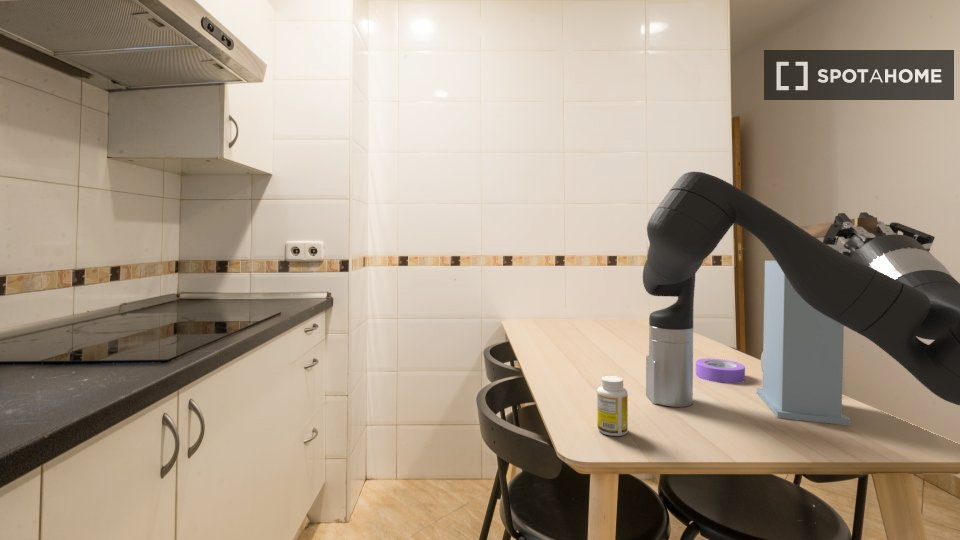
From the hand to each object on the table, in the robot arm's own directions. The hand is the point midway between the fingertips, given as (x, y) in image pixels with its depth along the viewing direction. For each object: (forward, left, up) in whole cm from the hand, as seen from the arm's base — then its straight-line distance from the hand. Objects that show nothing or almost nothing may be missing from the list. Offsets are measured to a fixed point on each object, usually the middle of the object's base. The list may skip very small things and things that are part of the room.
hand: (850, 218), depth 71 cm
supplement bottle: (-37, +6, -40) cm, 55 cm away
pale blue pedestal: (+6, +21, -40) cm, 45 cm away
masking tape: (0, +44, -40) cm, 59 cm away
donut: (+11, +38, -40) cm, 56 cm away
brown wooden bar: (+2, +6, -3) cm, 7 cm away
